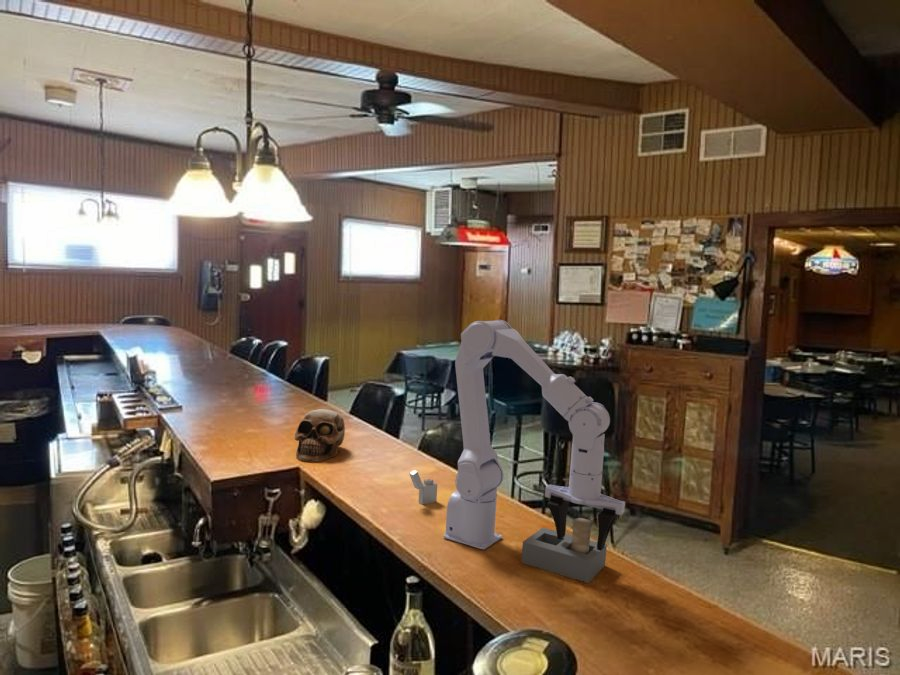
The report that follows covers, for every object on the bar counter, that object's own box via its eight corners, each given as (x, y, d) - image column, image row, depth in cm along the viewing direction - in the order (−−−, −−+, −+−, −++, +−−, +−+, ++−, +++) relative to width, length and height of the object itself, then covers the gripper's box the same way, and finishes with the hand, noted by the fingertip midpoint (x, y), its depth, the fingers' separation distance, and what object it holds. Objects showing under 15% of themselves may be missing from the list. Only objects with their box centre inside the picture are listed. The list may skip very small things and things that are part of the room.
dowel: (567, 563, 119) (570, 521, 118) (574, 557, 121) (577, 516, 120) (583, 569, 117) (587, 526, 116) (590, 562, 120) (594, 521, 119)
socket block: (521, 562, 120) (522, 541, 120) (541, 546, 128) (542, 527, 128) (588, 583, 114) (590, 561, 113) (605, 565, 121) (606, 544, 121)
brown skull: (301, 463, 174) (303, 413, 174) (285, 452, 189) (286, 407, 190) (356, 460, 182) (358, 412, 182) (336, 450, 197) (338, 406, 197)
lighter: (432, 499, 152) (434, 466, 151) (436, 501, 151) (438, 468, 150) (407, 504, 148) (409, 470, 147) (411, 507, 146) (413, 472, 145)
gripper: (540, 467, 118) (535, 539, 119) (618, 484, 110) (612, 561, 112) (555, 459, 124) (550, 527, 125) (630, 475, 116) (624, 547, 118)
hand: (580, 542), depth 119 cm, fingers open, 7 cm apart
